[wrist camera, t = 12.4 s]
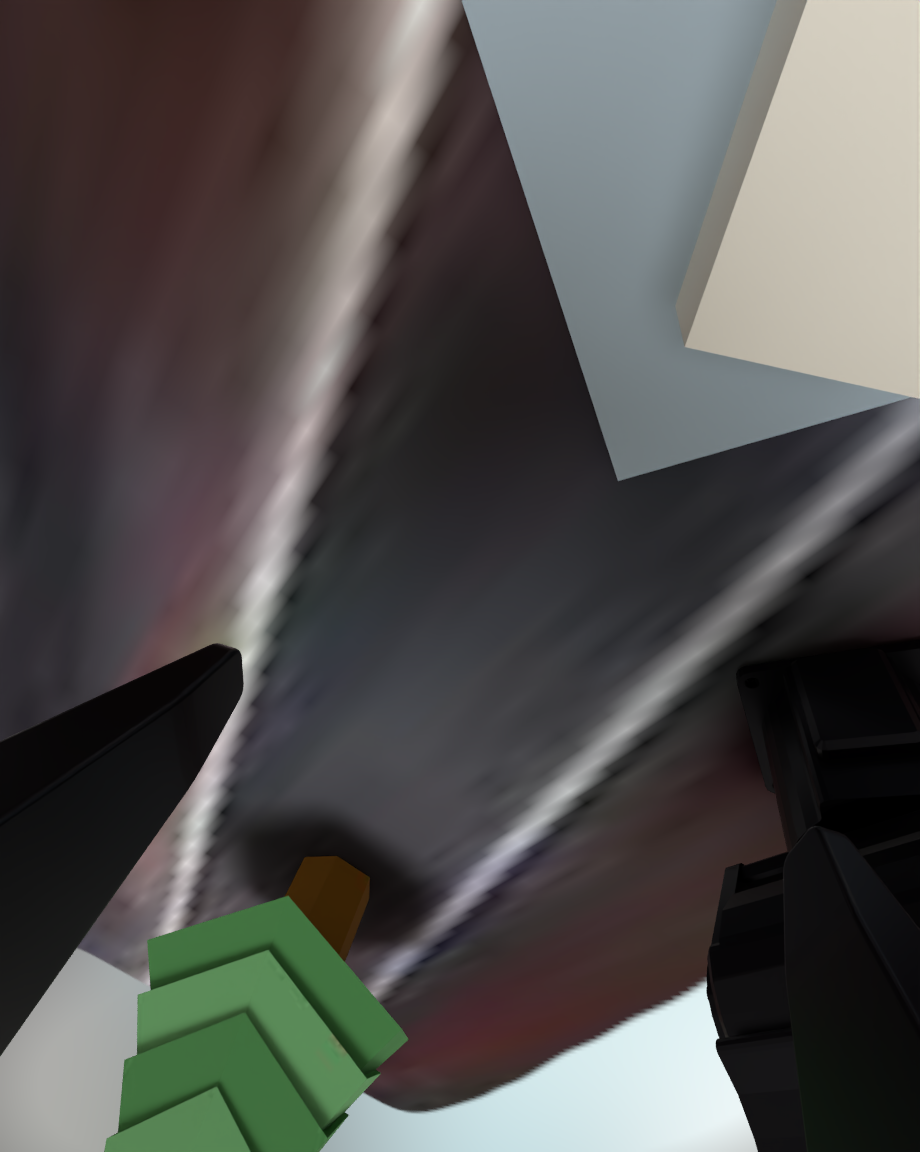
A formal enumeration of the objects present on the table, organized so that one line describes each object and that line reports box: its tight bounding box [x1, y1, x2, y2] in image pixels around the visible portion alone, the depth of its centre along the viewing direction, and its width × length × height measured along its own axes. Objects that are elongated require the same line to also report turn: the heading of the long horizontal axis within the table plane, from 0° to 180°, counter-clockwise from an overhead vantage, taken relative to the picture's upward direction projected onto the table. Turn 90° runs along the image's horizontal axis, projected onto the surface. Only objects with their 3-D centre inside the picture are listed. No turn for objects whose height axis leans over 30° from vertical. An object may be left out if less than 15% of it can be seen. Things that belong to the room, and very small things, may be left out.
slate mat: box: [462, 0, 911, 481], centre depth 13 cm, size 16×16×1 cm
